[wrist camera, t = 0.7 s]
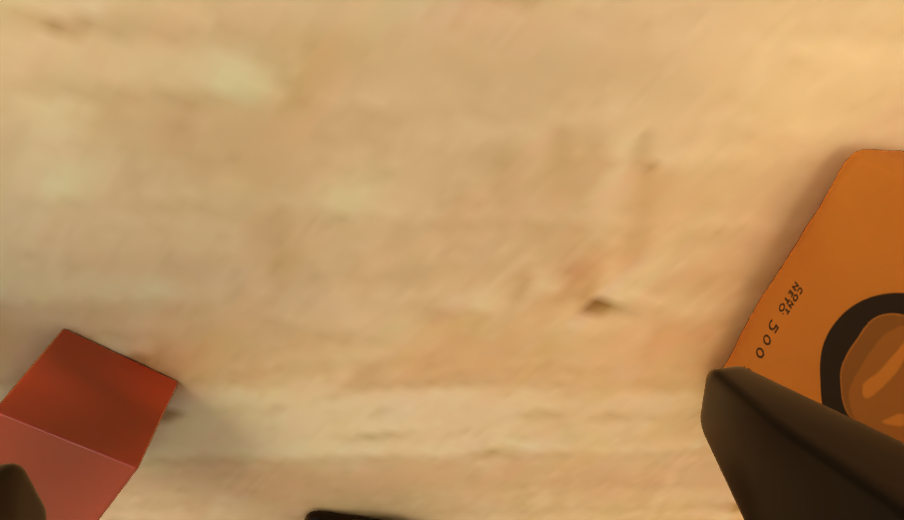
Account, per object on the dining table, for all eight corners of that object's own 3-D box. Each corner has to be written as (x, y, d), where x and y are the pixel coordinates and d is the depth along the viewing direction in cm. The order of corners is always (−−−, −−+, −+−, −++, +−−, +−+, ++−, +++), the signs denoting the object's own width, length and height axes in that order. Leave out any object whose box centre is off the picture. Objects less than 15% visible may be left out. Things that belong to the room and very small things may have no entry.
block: (14, 406, 22) (-63, 500, 18) (64, 327, 21) (-7, 410, 17) (126, 452, 24) (78, 548, 20) (179, 381, 23) (138, 468, 19)
